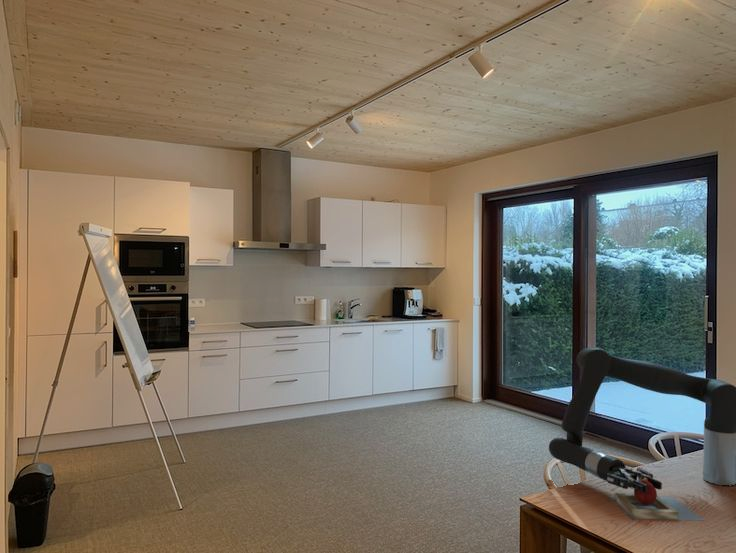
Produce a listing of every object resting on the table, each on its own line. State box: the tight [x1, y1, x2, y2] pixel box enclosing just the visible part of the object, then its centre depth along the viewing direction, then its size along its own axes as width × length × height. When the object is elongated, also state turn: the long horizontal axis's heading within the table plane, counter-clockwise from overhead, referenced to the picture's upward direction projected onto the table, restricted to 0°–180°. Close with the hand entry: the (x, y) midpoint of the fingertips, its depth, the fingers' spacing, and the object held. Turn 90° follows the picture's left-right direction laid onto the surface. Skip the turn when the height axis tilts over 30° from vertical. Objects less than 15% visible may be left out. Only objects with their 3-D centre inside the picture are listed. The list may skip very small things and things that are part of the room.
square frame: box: [614, 492, 678, 520], centre depth 155 cm, size 12×12×2 cm
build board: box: [607, 495, 705, 522], centre depth 156 cm, size 20×15×2 cm
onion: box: [633, 478, 658, 506], centre depth 155 cm, size 6×6×8 cm
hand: (653, 487), depth 153 cm, fingers closed on onion, 5 cm apart
